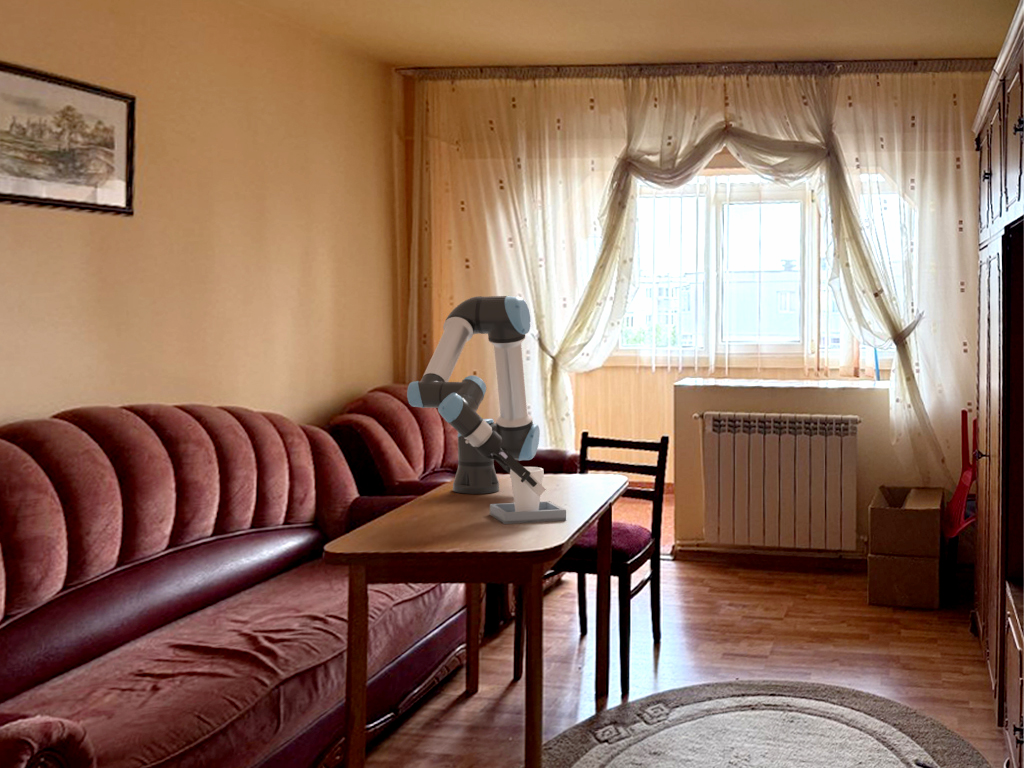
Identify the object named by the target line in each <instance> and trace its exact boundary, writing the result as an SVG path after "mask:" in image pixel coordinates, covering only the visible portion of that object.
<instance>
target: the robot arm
mask: <svg viewBox="0 0 1024 768" xmlns="http://www.w3.org/2000/svg"><path fill="white" fill-rule="evenodd" d="M442 327H443V333H442V335H441V337H440V339H439V340H438V343H437V345H436V347H435V350H434V352H433V354H432V357H431V358H430V360H429V362H428V365H427V367H426V369H425V371H424V373H423V375H422V378H421V380H420V381H419V380H416V381H415V380H414V381H411V382H410V383H409V384H408V386H407V392H406V397H407V401H408V404H409V405H410V406H411V407H413V408H421V409H424V408H425V409H426V408H427V409H430V408H431V409H437V411H438V414H439V415H440V416H441V417H442V418H443V419H444V421H445V422H447V423H448V424H449V425H450V426H451V427H452V428H453V429H454V430H455V431H456V432H457V436H456V437H457V461H458V462H457V465H458V466H457V470H456V473H455V477H454V480H453V484H452V491H453V492H454V493H458V494H469V495H470V494H471V495H472V494H476V495H477V494H478V495H479V494H490V493H491V494H492V493H497V492H498V491H500V481H499V479H498V476H497V473H496V469H495V465H494V464H495V463H494V462H496V463H498V464H499V466H500V467H501V468H502V470H504V471H505V472H506V473H508V474H510V469H511V470H512V471H513V472H515V473H516V474H517V475H518V476H519V477H521V478H522V479H521V482H522V483H523V482H525V483H526V484H527V485H528V486H529V487H530V488H531V489H532V490H533V491H534V492H535V493H536V494H537V495H538V496H540V495H542V494H543V493H544V492H545V491H547V488H545V487H544V486H543V484H542V485H541V484H540V483H539V482H538V481H537V480H536V479H535V478H534V477H533V476H532V475H531V473H530V472H529V471H528V470H526V469H525V468H524V467H525V466H523V465H522V464H521V463H520V462H521V461H530V460H532V459H533V458H535V456H536V454H537V451H538V447H539V442H540V432H541V431H540V427H539V424H536V423H533V417H532V416H531V415H530V414H529V413H528V410H527V409H528V408H527V397H526V385H525V376H524V375H525V373H524V361H523V352H522V351H523V350H522V349H523V348H522V343H523V342H524V340H525V339H526V334H528V333H529V332H530V329H531V314H530V309H529V307H528V303H527V301H526V300H525V299H524V298H522V297H520V296H514V295H513V296H511V295H493V296H473V297H472V296H471V297H469V298H468V299H465V300H464V301H462V302H461V303H459V304H458V305H457V306H455V307H454V308H453V309H452V311H451V312H449V314H448V315H447V317H446V319H445V321H444V323H443V326H442ZM478 334H479V335H480V334H485V335H486V334H487V338H488V342H489V343H490V344H491V345H493V351H494V352H493V353H494V361H495V371H496V381H497V392H498V405H499V413H500V416H499V417H498V418H497V419H496V420H494V418H482V417H481V415H479V414H478V412H477V411H478V409H479V407H480V405H481V403H482V402H483V400H484V398H485V395H486V392H487V385H486V383H485V382H484V380H483V379H482V378H480V377H479V376H477V375H468V376H466V377H465V378H464V379H462V381H450V379H451V376H452V375H453V372H454V370H455V368H456V365H457V364H458V361H459V359H460V357H461V354H462V352H463V350H464V348H465V345H466V344H467V342H469V341H470V340H471V339H472V338H473V336H474V335H478ZM495 421H496V423H495ZM524 473H525V474H524ZM523 474H524V475H523ZM540 497H541V496H540Z"/></svg>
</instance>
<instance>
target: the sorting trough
mask: <svg viewBox="0 0 1024 768" xmlns="http://www.w3.org/2000/svg"><path fill="white" fill-rule="evenodd" d="M489 515H490V516H491V517H493V518H495V519H496V520H498V521H499V522H500V523H502V524H503V525H510V524H512V525H513V524H526V523H528V524H529V523H544V522H546V523H547V522H562V521H563V522H565V521H567V510H566V509H565V508H563V507H561V506H560V505H558V504H556V503H554V502H552V501H550V500H544V501H541V500H540V503H539V511H522V512H515V506H514V502H508V503H507V502H506V503H490V504H489Z"/></svg>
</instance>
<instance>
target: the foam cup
mask: <svg viewBox="0 0 1024 768" xmlns="http://www.w3.org/2000/svg"><path fill="white" fill-rule="evenodd" d="M523 467H524V468H525V469H526V470H528V471H529V472H530V473H531V475H532V476H533V477H534V478H535V479H536V480H537V481H538V482H539V483H540V484H541V485H542V486H543V480H544V479H543V478H544V475H545V473H544V468H542V467H538V466H523ZM524 474H525V473H524ZM524 474H523V475H524ZM509 478H510V480H511V481H510V482H511V488H512V489H511V491H512V498H513V503H514V506H515V512H522V511H539V503H540V501H541V495H542V494H541V495H540V496H538V495H537V494H536V493H535V492H534V491H533V490H532V489H531V488H530V487H529V486H528V485H527V484H526V483H525V482H523V483H522V482H521V479H522V478H521V477H519V476H518V475H517V474H516V473H515V472H513V471H512V470H511V469H510V472H509Z"/></svg>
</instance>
